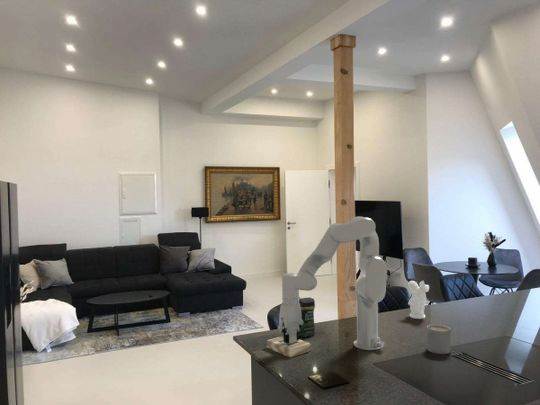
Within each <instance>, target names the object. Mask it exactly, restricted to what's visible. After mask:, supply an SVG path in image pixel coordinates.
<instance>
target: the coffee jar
mask: <svg viewBox="0 0 540 405" xmlns="http://www.w3.org/2000/svg"><path fill="white" fill-rule="evenodd" d="M299 303H300V307H301V316H302V320H303V321H304V323H303V324H302V325H301V328H300V331H299V337H302V338H307V336H308V337H313V336H315V335H316V329H315V328H316V327H315V315H314V313H315V308H316V301H315V298H314V297H313V298H312V297H300V300H299ZM312 335H313V336H312Z"/></svg>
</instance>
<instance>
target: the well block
mask: <svg viewBox="0 0 540 405" xmlns="http://www.w3.org/2000/svg"><path fill="white" fill-rule="evenodd" d="M282 341H284V335H281V336H277V337H274V338H271V339H267V349H270V350H271V351H273V352H276V353H279V354H281V355H283V356H286V357H288V358H294V357H296V356H297V357H298V356H301V355H303V354H306V352H307V353H310V352H311V343H310V342H308V341H305V340H302V339H299V340H298V341H297V343H296V344H292V345H289V346H288V345H285V344H283V343H281V342H282ZM309 351H310V352H309Z"/></svg>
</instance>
